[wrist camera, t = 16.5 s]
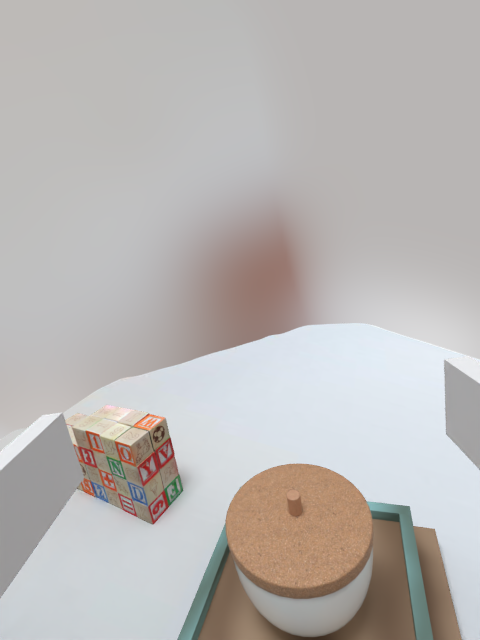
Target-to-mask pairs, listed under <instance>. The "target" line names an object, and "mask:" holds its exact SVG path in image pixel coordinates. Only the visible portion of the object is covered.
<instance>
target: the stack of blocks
mask: <svg viewBox="0 0 480 640" xmlns="http://www.w3.org/2000/svg"><path fill="white" fill-rule="evenodd" d="M65 422H66V425H67V428H68V431H69V434H70V437H71V440H72V443H73V446H74V449H75V452H76V455H77V458H78V460H79V463H80V466H81V469H82V472H83V475H84V479H83V480H82V482H81V483H80V484H79V486H78V487H77V489H80V490H82V491H84V492H86V493H88V494H90V495H92V496H94V497H97V498H99V499H102V500H104V501H106V502H108V503H110V504H112V505H115V506H117V507H119V508H121V509H123V510H124V511H126V512H128V513H130V514H132V515H134V516H136V517H138V518H140V519H142V520H144V521H146V522H148V523H150V524H154V523H155V522H156V521H157V520H158V518H159V517H160V516H161V515H162V514H163V513H164V512H165V511H166V509H167V508H168V507H169V506H170V505H171V503H172V502H173V501H174V500H175V499H176V498H177V497H178V496H179V495H180V494H181V492H182V491H183V488H182V484H181V479H180V475H179V474H178V469H177V464H176V460H175V457H174V450H173V446H172V442H171V438H170V435H169V431H168V426H167V422H166V418H164V417H160V416H156V415H151V414H150V415H149V413H147V412H142V411H137V410H131V409H126V408H119V407H115V406H110V405H105V406H104V407H102V408H101V409H99V410H98V411H96V412H95V413H93V414H91V415H90V416H87V415H83V414H80V413H77V414H75V415H73V416H72V417H70V418H68V419H67V420H65Z"/></svg>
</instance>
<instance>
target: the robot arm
mask: <svg viewBox="0 0 480 640" xmlns="http://www.w3.org/2000/svg"><path fill="white" fill-rule="evenodd" d="M444 372H445V412H446V434H447V435H448V437H449V438H450V439H451V440H452V441H453V442H454V443H455V444H456V445H457V446H458V447H459V448H460V449H461V450H462V451H463V453H464V454H465V455H466V456H467V457H468V458H469V459H470V460H471V461H472V462H473V463H474V464H475V465H476V466H477V467H478V468H479V470H480V362H478V361H477V360H475V359H473V358H472V357H470V356H465V357H458V358H451V359H444ZM83 479H84V475H83V472H82V469H81V466H80V463H79V460H78V458H77V455H76V452H75V449H74V446H73V443H72V440H71V437H70V434H69V431H68V428H67V425H66V422H65V419H64V416H63V413H56V414H48V415H42V416H41V417H40V418H39V419H37V420H36V421H35V422H34V423H33V424H32V425H30V427H28V428H27V429H26V430H25V431H23V432H22V433H21V434H20V435H19V436H18V437H17V438H15V439H14V440H13V441H12V442H11V443H10V444H8V445H7V446H6V447H5V448H4V449H3V450H1V451H0V598H1V596H2V595H3V594H4V592H5V591H6V589H7V588H8V586H9V585H10V584H11V582H12V581H13V579H14V578H15V576H16V575H17V574H18V572H19V571H20V569H21V568H22V566H23V565H24V563H25V562H26V561H27V559H28V558H29V556H30V555H31V553H32V552H33V551H34V549H35V548H36V546H37V545H38V543H39V542H40V540H41V539H42V538H43V536H44V535H45V533H46V532H47V530H48V529H49V528H50V526H51V525H52V523H53V522H54V520H55V519H56V517H57V516H58V515H59V513H60V512H61V510H62V509H63V507H64V506H65V505H66V503H67V502H68V500H69V499H70V497H71V496H72V494H73V493H74V492H75V490H76V489H77V487H78V486H79V484H80V483H81V482H82V480H83Z"/></svg>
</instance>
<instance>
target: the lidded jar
mask: <svg viewBox="0 0 480 640" xmlns="http://www.w3.org/2000/svg"><path fill="white" fill-rule="evenodd" d="M226 536H227V542H228V546H229V549H230V552H231V555H232V557H233V561H234V564H235V568H236V571H237V574H238V576H239V579H240V581H241V584H242V586H243V588H244V590H245V592H246V594H247V595H248V597H249V599H250V600H251V602H252V604H253V605H254V606H255V608H256V609H257V610H258V611H259V613H260V614H261V615H262V616H263V617H265V618H266V619H267V620H268V621H269V622H270V623H271V624H273V625H274V626H276V627H277V628H279V629H281V630H282V631H285V632H287V633H290V634H292V635H297V636H302V637H318V636H324V635H327V634H330V633H333V632H335V631H337V630H339V629H340V628H342V627H344V626H345V625H346V624H347V623H348V622H349V621H350V620H352V618H353V617H354V616H355V614H356V613H357V612H358V610H359V609H360V607H361V606H362V604H363V602H364V600H365V598H366V595H367V591H368V588H369V584H370V580H371V575H372V566H373V538H374V529H373V520H372V515H371V511H370V508H369V506H368V504H367V502H366V500H365V498H364V497H363V495H362V494H361V493H360V491H359V490H358V489H357V488H356V487H355V486H354V485H353V484H352V483H351V482H350V481H348V480H347V479H346V478H344V477H343V476H341V475H339V474H338V473H336V472H334V471H331V470H329V469H327V468H323V467H320V466H316V465H310V464H287V465H281V466H277V467H273V468H270V469H268V470H265V471H263V472H261V473H259V474H257V475H255V476H254V477H253V478H251V479H250V480H249V481H247V482H246V483H245V484H244V485H243V486H242V487H241V488H240V489H239V491H238V492H237V493H236V495H235V496H234V498H233V500H232V502H231V503H230V506H229V509H228V511H227V516H226Z"/></svg>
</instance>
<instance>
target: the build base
mask: <svg viewBox="0 0 480 640" xmlns="http://www.w3.org/2000/svg"><path fill="white" fill-rule="evenodd" d="M240 488H241V487H240ZM366 502H367V501H366ZM367 504H368V506H369V508H370V511H371V515H372V520H373V529H374V538H373V566H372V575H371V580H370V584H369V588H368V591H367V595H366V598H365V600H364V602H363V604H362V606H361V607H360V609H359V610H358V612H357V613H356V614H355V616H354V617H353V618H352V620H350V621H349V622H348V623H347V624H346V625H345V626H344V627H342V628H340V629H339V630H337V631H335V632H333V633H330V634H327V635H324V636H318V637H302V636H297V635H292V634H290V633H287V632H285V631H282V630H281V629H279V628H277V627H276V626H274V625H273V624H271V623H270V622H269V621H268V620H267V619H266V618H265V617H263V616H262V615H261V614H260V613H259V611H258V610H257V609H256V608H255V606H254V605H253V604H252V602H251V600H250V599H249V597H248V595H247V594H246V592H245V590H244V588H243V586H242V584H241V581H240V579H239V576H238V574H237V571H236V568H235V564H234V561H233V557H232V555H231V552H230V549H229V546H228V542H227V536H226V523H225V525H224V528H223V530H222V533H221V535H220V538H219V540H218V542H217V545H216V547H215V550H214V552H213V555H212V557H211V559H210V562H209V564H208V567H207V569H206V572H205V574H204V576H203V579H202V581H201V584H200V586H199V589H198V591H197V593H196V596H195V598H194V601H193V603H192V606H191V608H190V611H189V613H188V615H187V618H186V620H185V623H184V625H183V628H182V630H181V632H180V635H179V637H178V640H462V639H461V635H460V631H459V627H458V623H457V619H456V614H455V610H454V606H453V602H452V598H451V594H450V590H449V586H448V582H447V577H446V573H445V569H444V565H443V561H442V557H441V553H440V549H439V545H438V540H437V536H436V532H435V529H431V528H423V527H416V526H413V522H412V517H411V511H410V506H402V505H393V504H385V503H376V502H367Z"/></svg>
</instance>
